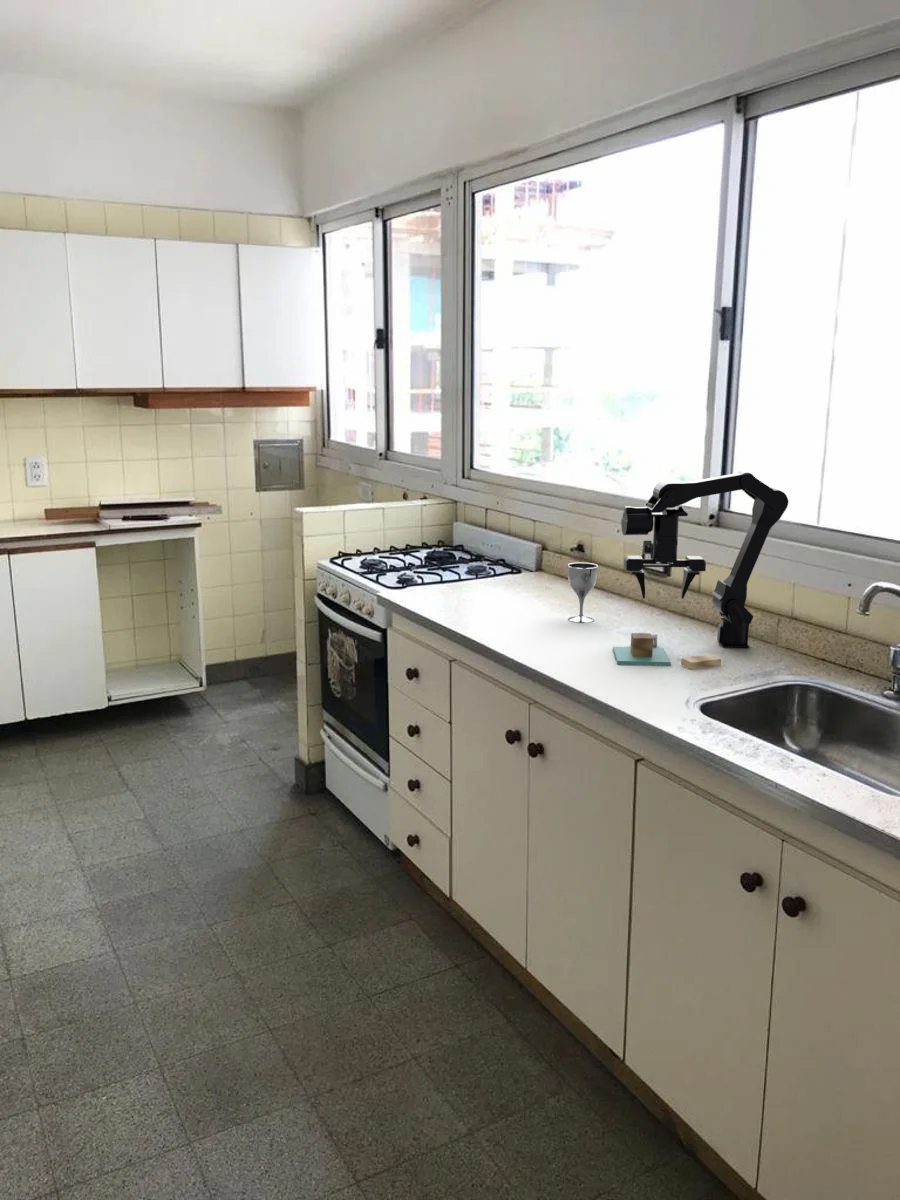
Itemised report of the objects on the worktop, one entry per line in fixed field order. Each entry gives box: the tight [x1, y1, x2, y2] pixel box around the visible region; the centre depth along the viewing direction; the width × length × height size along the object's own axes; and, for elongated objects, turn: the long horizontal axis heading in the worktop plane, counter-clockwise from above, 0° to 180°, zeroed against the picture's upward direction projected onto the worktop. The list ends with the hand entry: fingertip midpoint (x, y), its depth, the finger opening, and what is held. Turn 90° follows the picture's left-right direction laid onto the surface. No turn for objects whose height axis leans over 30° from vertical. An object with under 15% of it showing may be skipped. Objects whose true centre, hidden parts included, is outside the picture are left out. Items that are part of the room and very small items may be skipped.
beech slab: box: [680, 653, 722, 670], centre depth 223 cm, size 8×4×2 cm, turn 111°
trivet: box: [612, 646, 672, 666], centre depth 229 cm, size 12×12×1 cm
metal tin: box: [634, 631, 658, 648], centre depth 238 cm, size 6×6×3 cm
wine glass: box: [567, 561, 599, 624], centre depth 262 cm, size 8×8×15 cm
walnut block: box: [630, 632, 653, 657], centre depth 228 cm, size 4×4×4 cm
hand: (662, 598), depth 236 cm, fingers open, 9 cm apart
